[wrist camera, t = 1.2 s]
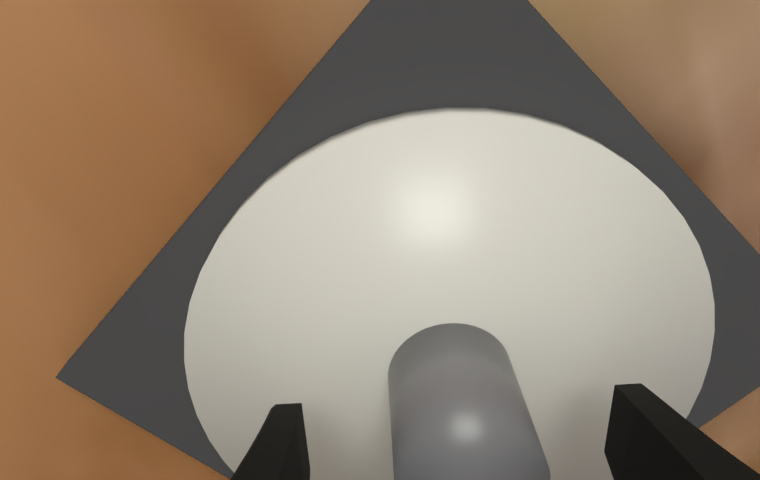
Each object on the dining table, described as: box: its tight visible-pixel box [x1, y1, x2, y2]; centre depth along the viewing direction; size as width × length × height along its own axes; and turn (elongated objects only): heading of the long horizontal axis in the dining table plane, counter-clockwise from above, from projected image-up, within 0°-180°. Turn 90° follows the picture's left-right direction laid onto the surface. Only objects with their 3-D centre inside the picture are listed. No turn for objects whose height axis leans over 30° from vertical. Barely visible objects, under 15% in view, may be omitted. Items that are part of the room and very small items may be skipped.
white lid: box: [184, 107, 715, 480], centre depth 14 cm, size 14×14×4 cm
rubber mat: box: [56, 0, 760, 479], centre depth 16 cm, size 15×15×1 cm
